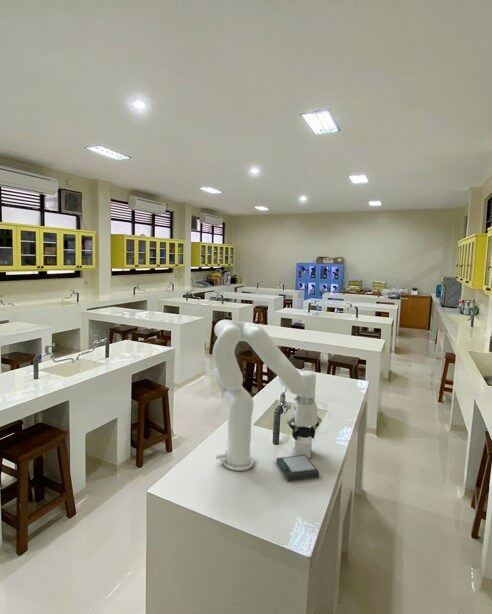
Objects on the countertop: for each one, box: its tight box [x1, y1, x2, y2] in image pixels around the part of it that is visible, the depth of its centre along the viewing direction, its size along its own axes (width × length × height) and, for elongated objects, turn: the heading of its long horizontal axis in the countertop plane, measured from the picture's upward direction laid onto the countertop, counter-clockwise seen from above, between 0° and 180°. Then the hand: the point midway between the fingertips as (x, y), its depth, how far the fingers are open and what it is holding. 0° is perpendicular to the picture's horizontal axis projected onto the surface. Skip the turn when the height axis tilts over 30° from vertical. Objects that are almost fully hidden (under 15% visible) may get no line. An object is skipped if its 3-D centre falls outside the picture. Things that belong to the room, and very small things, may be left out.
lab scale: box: [275, 455, 320, 482], centre depth 153 cm, size 13×13×3 cm
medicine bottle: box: [293, 426, 313, 459], centre depth 166 cm, size 7×7×12 cm
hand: (303, 437), depth 165 cm, fingers closed on medicine bottle, 7 cm apart
